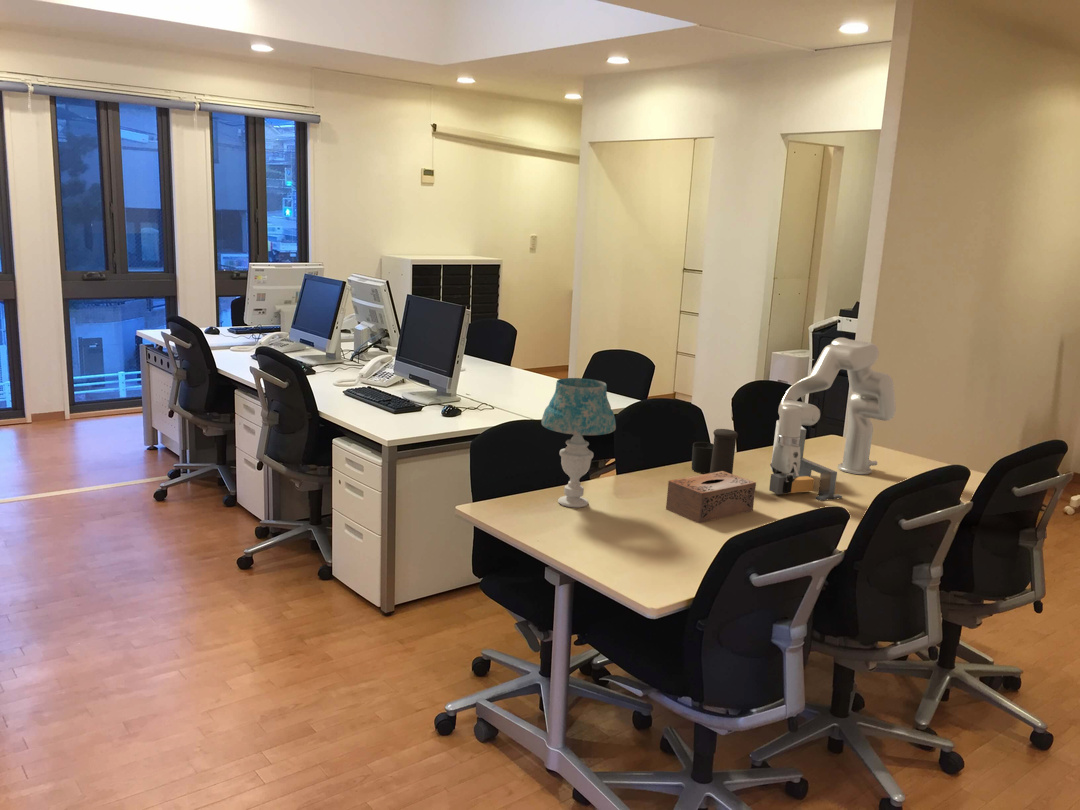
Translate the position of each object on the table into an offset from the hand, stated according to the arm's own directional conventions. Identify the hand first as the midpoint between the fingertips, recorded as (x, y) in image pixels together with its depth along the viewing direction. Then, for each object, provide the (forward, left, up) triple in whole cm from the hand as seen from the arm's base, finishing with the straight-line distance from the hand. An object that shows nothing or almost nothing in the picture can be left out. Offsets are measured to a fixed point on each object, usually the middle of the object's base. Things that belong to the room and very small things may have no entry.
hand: (781, 489), depth 302 cm
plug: (-4, 0, -1) cm, 4 cm away
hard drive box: (-17, -20, -2) cm, 26 cm away
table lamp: (+78, -7, -2) cm, 78 cm away
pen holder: (+12, -32, -2) cm, 34 cm away
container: (+15, -16, -2) cm, 22 cm away
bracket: (-14, 0, -2) cm, 14 cm away
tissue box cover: (+36, +9, -2) cm, 37 cm away
